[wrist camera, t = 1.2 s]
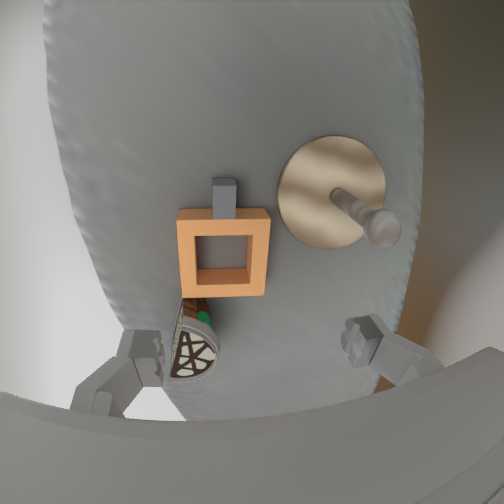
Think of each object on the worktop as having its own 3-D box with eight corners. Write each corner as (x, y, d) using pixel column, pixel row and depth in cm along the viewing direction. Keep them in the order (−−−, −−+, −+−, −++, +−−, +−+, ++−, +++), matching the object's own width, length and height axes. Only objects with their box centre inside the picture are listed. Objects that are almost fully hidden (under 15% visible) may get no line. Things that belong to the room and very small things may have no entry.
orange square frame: (258, 279, 41) (263, 295, 37) (184, 281, 39) (182, 297, 36) (266, 178, 34) (273, 186, 31) (178, 178, 32) (175, 186, 29)
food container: (206, 343, 46) (209, 389, 37) (172, 337, 44) (168, 384, 35) (226, 288, 41) (232, 335, 32) (186, 279, 39) (182, 326, 30)
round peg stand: (282, 129, 31) (331, 140, 19) (387, 144, 34) (460, 168, 21) (272, 245, 39) (303, 312, 26) (368, 244, 41) (422, 297, 29)
